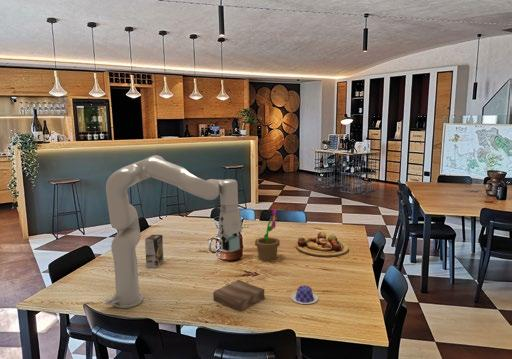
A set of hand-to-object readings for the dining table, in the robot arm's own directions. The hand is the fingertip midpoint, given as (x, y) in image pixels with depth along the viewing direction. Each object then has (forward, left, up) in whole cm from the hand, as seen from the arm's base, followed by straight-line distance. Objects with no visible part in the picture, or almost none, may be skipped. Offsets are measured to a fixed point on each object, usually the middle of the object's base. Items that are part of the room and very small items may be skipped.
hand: (230, 247), depth 167 cm
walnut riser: (0, -4, -23) cm, 23 cm away
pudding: (+19, -26, -24) cm, 40 cm away
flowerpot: (+47, +18, -23) cm, 56 cm away
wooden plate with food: (+82, +3, -24) cm, 85 cm away
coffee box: (0, +60, -23) cm, 64 cm away
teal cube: (0, 0, -1) cm, 1 cm away
